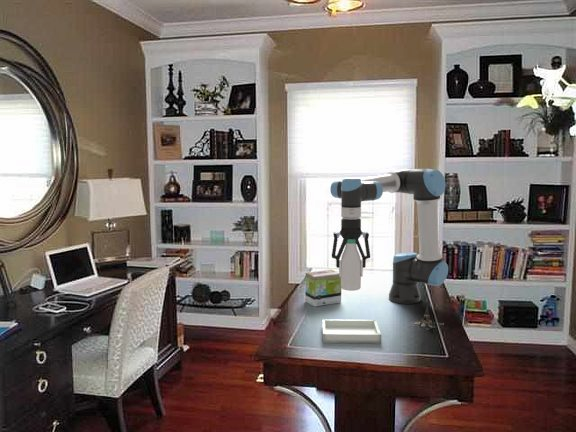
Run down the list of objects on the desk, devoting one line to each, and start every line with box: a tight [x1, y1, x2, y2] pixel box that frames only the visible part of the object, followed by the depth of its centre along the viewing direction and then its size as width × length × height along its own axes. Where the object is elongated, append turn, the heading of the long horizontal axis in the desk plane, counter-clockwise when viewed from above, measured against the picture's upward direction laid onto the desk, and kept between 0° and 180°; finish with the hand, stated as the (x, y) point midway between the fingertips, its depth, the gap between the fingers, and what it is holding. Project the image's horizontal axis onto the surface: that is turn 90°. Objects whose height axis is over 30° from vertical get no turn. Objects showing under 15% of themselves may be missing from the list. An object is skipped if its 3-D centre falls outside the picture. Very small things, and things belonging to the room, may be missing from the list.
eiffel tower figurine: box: [408, 298, 445, 331], centre depth 198 cm, size 15×10×13 cm
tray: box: [321, 318, 382, 344], centre depth 189 cm, size 22×16×4 cm
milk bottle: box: [340, 239, 362, 292], centre depth 186 cm, size 8×8×20 cm
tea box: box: [304, 269, 342, 308], centre depth 231 cm, size 15×10×15 cm, turn 117°
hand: (350, 275), depth 186 cm, fingers closed on milk bottle, 7 cm apart
